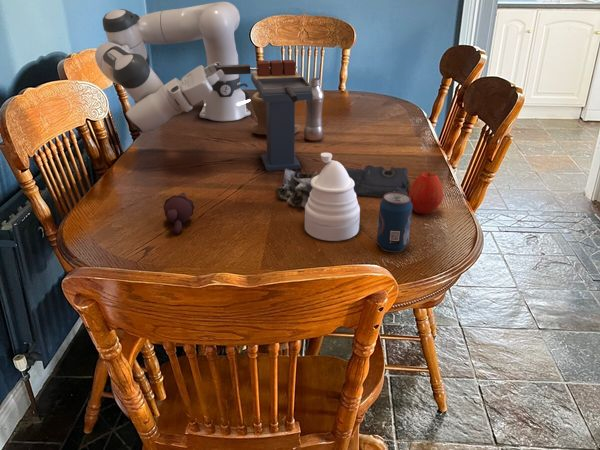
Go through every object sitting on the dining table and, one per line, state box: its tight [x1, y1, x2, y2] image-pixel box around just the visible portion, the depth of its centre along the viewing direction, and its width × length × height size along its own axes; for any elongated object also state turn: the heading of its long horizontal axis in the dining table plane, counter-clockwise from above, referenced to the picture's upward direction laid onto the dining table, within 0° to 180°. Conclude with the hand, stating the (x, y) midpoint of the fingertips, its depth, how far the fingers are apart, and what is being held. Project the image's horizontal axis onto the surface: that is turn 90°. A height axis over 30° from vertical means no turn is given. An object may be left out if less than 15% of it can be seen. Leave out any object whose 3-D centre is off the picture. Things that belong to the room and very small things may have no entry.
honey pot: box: [304, 152, 361, 242], centre depth 130 cm, size 13×13×18 cm
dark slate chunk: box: [345, 164, 410, 198], centre depth 156 cm, size 15×22×5 cm
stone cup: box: [251, 91, 301, 136], centre depth 189 cm, size 15×12×15 cm
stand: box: [250, 73, 313, 172], centre depth 164 cm, size 24×13×24 cm, turn 12°
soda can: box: [376, 192, 413, 253], centre depth 124 cm, size 7×7×12 cm
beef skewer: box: [216, 59, 298, 77], centre depth 161 cm, size 4×23×4 cm, turn 102°
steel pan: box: [257, 76, 312, 103], centre depth 150 cm, size 20×13×2 cm, turn 12°
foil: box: [275, 169, 319, 208], centre depth 147 cm, size 12×11×15 cm
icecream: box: [162, 192, 195, 235], centre depth 135 cm, size 7×7×15 cm
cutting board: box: [251, 70, 302, 83], centre depth 164 cm, size 10×13×1 cm
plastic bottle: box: [303, 77, 325, 141], centre depth 184 cm, size 6×7×20 cm
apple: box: [408, 171, 444, 216], centre depth 140 cm, size 8×8×11 cm
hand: (221, 67), depth 159 cm, fingers open, 8 cm apart
